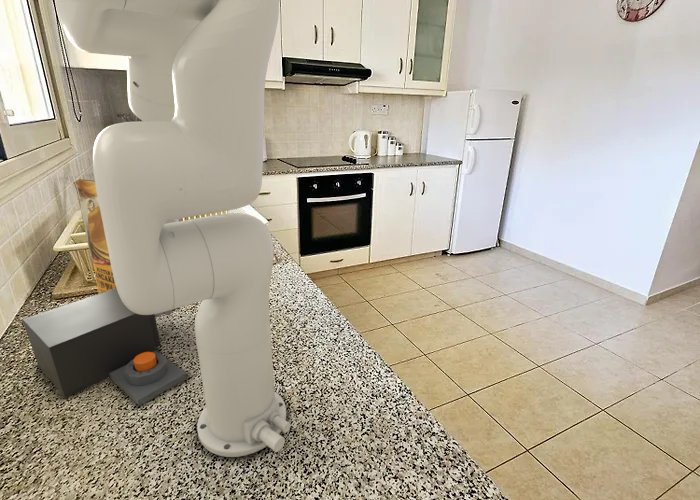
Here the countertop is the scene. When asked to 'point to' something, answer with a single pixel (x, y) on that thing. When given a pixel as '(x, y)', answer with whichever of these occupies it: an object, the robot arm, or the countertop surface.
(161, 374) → the control pad
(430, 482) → the countertop surface
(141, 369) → the button
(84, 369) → the matte grey oblong box
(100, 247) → the pancake mix bag
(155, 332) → the drawer
